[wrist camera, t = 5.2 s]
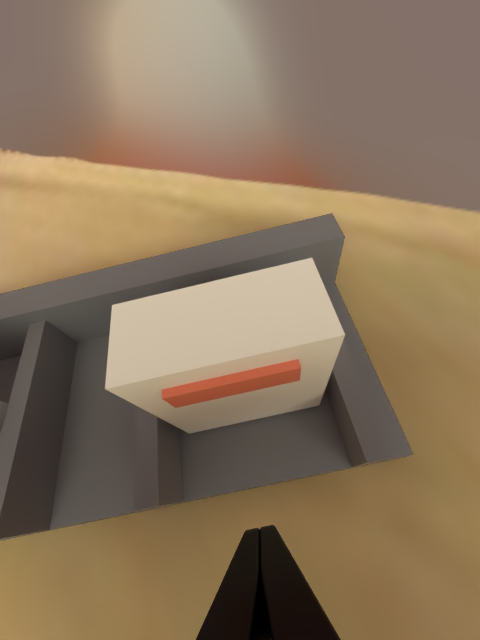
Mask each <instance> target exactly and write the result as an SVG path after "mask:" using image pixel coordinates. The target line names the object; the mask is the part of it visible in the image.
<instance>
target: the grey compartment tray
mask: <svg viewBox="0 0 480 640" xmlns="http://www.w3.org/2000/svg"><path fill="white" fill-rule="evenodd" d="M344 239H345V236H344V234H343V232H342V230H341V229H340V227H339V225H338V223H337V221H336V219H335V218H334V216H333V214H332V213H331V214H327V215H323V216H319V217H315V218H311V219H307V220H303V221H298V222H294V223H290V224H286V225H282V226H278V227H274V228H270V229H266V230H261V231H257V232H253V233H249V234H245V235H241V236H237V237H233V238H228V239H224V240H220V241H216V242H212V243H208V244H204V245H200V246H196V247H191V248H187V249H183V250H179V251H175V252H171V253H167V254H163V255H159V256H154V257H150V258H146V259H142V260H138V261H134V262H130V263H126V264H121V265H117V266H113V267H109V268H105V269H101V270H97V271H93V272H89V273H84V274H80V275H76V276H72V277H68V278H64V279H60V280H56V281H52V282H47V283H43V284H39V285H35V286H31V287H27V288H23V289H19V290H14V291H10V292H6V293H2V294H0V401H2V402H6V403H9V404H8V407H7V411H6V415H5V419H4V423H3V426H2V430H1V434H0V540H5V539H10V538H15V537H20V536H24V535H29V534H34V533H39V532H44V531H49V530H53V529H58V528H63V527H68V526H73V525H78V524H82V523H87V522H92V521H97V520H102V519H106V518H111V517H116V516H121V515H126V514H131V513H135V512H140V511H145V510H150V509H155V508H160V507H164V506H169V505H174V504H179V503H184V502H189V501H193V500H198V499H203V498H208V497H213V496H217V495H222V494H227V493H232V492H237V491H242V490H246V489H251V488H256V487H261V486H266V485H271V484H275V483H280V482H285V481H290V480H295V479H299V478H304V477H309V476H314V475H319V474H324V473H328V472H333V471H338V470H343V469H348V468H353V467H357V466H362V465H367V464H372V463H377V462H381V461H386V460H391V459H396V458H401V457H406V456H410V455H413V452H412V450H411V448H410V446H409V443H408V441H407V439H406V437H405V435H404V432H403V430H402V428H401V426H400V424H399V422H398V419H397V417H396V415H395V413H394V411H393V408H392V406H391V404H390V402H389V400H388V398H387V395H386V393H385V391H384V389H383V387H382V384H381V382H380V380H379V378H378V376H377V374H376V371H375V369H374V367H373V365H372V363H371V360H370V358H369V356H368V354H367V352H366V350H365V347H364V345H363V343H362V341H361V339H360V336H359V334H358V332H357V330H356V328H355V325H354V323H353V321H352V319H351V317H350V315H349V312H348V310H347V308H346V306H345V304H344V301H343V299H342V297H341V295H340V293H339V291H338V288H337V286H336V284H335V279H336V275H337V270H338V266H339V261H340V257H341V252H342V248H343V243H344ZM308 258H312V259H313V261H314V263H315V266H316V268H317V270H318V273H319V275H320V277H321V280H322V282H323V284H324V287H325V289H326V291H327V294H328V296H329V298H330V301H331V303H332V305H333V308H334V310H335V312H336V315H337V317H338V319H339V322H340V324H341V326H342V329H343V331H344V333H345V337H344V339H343V342H342V345H341V348H340V350H339V353H338V356H337V359H336V361H335V364H334V367H333V369H332V372H331V375H330V378H329V380H328V383H327V386H326V389H325V391H324V394H323V397H322V399H321V402H320V405H319V406H315V407H310V408H305V409H301V410H296V411H292V412H287V413H282V414H278V415H273V416H268V417H264V418H259V419H255V420H250V421H245V422H241V423H236V424H232V425H227V426H222V427H218V428H213V429H209V430H204V431H199V432H195V433H190V434H189V433H187V432H185V431H183V430H181V429H180V428H178V427H176V426H174V425H172V424H170V423H168V422H166V421H164V420H163V419H161V418H159V417H157V416H155V415H153V414H151V413H149V412H147V411H146V410H144V409H142V408H140V407H138V406H136V405H134V404H132V403H130V402H128V401H127V400H125V399H123V398H121V397H119V396H117V395H115V394H113V393H111V392H110V391H108V390H106V389H105V382H106V370H107V358H108V346H109V335H110V323H111V311H112V305H114V304H119V303H123V302H127V301H131V300H136V299H140V298H144V297H148V296H152V295H157V294H161V293H165V292H169V291H173V290H178V289H182V288H186V287H190V286H194V285H199V284H203V283H207V282H211V281H215V280H220V279H224V278H228V277H232V276H237V275H241V274H245V273H249V272H253V271H258V270H262V269H266V268H270V267H274V266H279V265H283V264H287V263H291V262H295V261H300V260H304V259H308Z"/></svg>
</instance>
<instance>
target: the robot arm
mask: <svg viewBox="0 0 480 640" xmlns="http://www.w3.org/2000/svg"><path fill="white" fill-rule="evenodd" d="M196 640H341V639H340V638H339V636H338V634H337V633H336V631H335V629H334V627H333V626H332V624H331V622H330V620H329V619H328V617H327V615H326V614H325V612H324V610H323V608H322V607H321V605H320V603H319V601H318V600H317V598H316V596H315V595H314V593H313V591H312V589H311V588H310V586H309V584H308V582H307V581H306V579H305V577H304V576H303V574H302V572H301V570H300V569H299V567H298V565H297V563H296V562H295V560H294V558H293V557H292V555H291V553H290V551H289V550H288V548H287V546H286V544H285V543H284V541H283V539H282V538H281V536H280V534H279V532H278V531H277V529H276V527H275V526H274V525H270V526H265V527H261V529H258V528H255V529H250V530H246V531H245V532H244V534H243V537H242V539H241V541H240V543H239V545H238V548H237V550H236V552H235V554H234V557H233V559H232V561H231V563H230V565H229V568H228V570H227V572H226V574H225V576H224V579H223V581H222V583H221V585H220V587H219V590H218V592H217V594H216V596H215V599H214V601H213V603H212V605H211V607H210V610H209V612H208V614H207V616H206V618H205V621H204V623H203V625H202V627H201V629H200V632H199V634H198V636H197V638H196Z"/></svg>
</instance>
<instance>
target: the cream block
mask: <svg viewBox="0 0 480 640" xmlns="http://www.w3.org/2000/svg"><path fill="white" fill-rule="evenodd" d="M344 337H345V333H344V331H343V329H342V326H341V324H340V322H339V319H338V317H337V315H336V312H335V310H334V308H333V305H332V303H331V301H330V298H329V296H328V294H327V291H326V289H325V287H324V284H323V282H322V280H321V277H320V275H319V273H318V270H317V268H316V266H315V263H314V261H313V259H312V258H308V259H304V260H300V261H295V262H291V263H287V264H283V265H279V266H274V267H270V268H266V269H262V270H258V271H253V272H249V273H245V274H241V275H237V276H232V277H228V278H224V279H220V280H215V281H211V282H207V283H203V284H199V285H194V286H190V287H186V288H182V289H178V290H173V291H169V292H165V293H161V294H157V295H152V296H148V297H144V298H140V299H136V300H131V301H127V302H123V303H119V304H114V305H112V311H111V323H110V335H109V346H108V358H107V370H106V382H105V389H106V390H108V391H110V392H111V393H113V394H115V395H117V396H119V397H121V398H123V399H125V400H127V401H128V402H130V403H132V404H134V405H136V406H138V407H140V408H142V409H144V410H146V411H147V412H149V413H151V414H153V415H155V416H157V417H159V418H161V419H163V420H164V421H166V422H168V423H170V424H172V425H174V426H176V427H178V428H180V429H181V430H183V431H185V432H187V433H189V434H190V433H195V432H199V431H204V430H209V429H213V428H218V427H222V426H227V425H232V424H236V423H241V422H245V421H250V420H255V419H259V418H264V417H268V416H273V415H278V414H282V413H287V412H292V411H296V410H301V409H305V408H310V407H315V406H319V405H320V402H321V399H322V397H323V394H324V391H325V389H326V386H327V383H328V380H329V378H330V375H331V372H332V369H333V367H334V364H335V361H336V359H337V356H338V353H339V350H340V348H341V345H342V342H343V339H344Z"/></svg>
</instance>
